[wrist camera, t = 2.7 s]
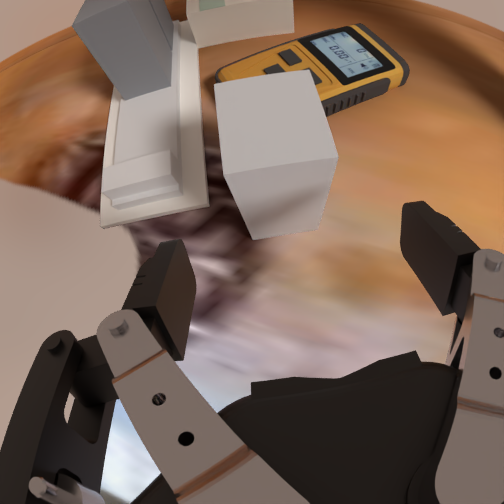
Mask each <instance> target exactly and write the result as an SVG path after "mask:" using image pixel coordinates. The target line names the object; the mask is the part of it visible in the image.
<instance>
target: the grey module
mask: <svg viewBox="0 0 504 504" xmlns="http://www.w3.org/2000/svg"><path fill="white" fill-rule="evenodd" d="M214 91H215V101H216V110H217V120H218V130H219V139H220V148H221V157H222V166H223V175H224V177H225V179H226V182H227V184H228V186H229V188H230V190H231V193H232V195H233V197H234V199H235V202H236V204H237V206H238V208H239V210H240V213H241V215H242V217H243V219H244V221H245V224H246V226H247V228H248V230H249V233H250V235H251V237H252V239H253V240H257V239H263V238H269V237H275V236H282V235H288V234H294V233H300V232H307V231H313V230H318V227H319V224H320V221H321V217H322V214H323V211H324V207H325V204H326V200H327V197H328V193H329V190H330V186H331V183H332V179H333V176H334V172H335V168H336V165H337V161H338V154H337V150H336V147H335V144H334V140H333V137H332V134H331V131H330V128H329V124H328V121H327V118H326V115H325V112H324V109H323V106H322V103H321V101H320V98H319V95H318V92H317V89H316V86H315V84H314V81H313V78H312V76H311V73H310V70H300V71H291V72H283V73H275V74H268V75H261V76H255V77H249V78H243V79H238V80H232V81H227V82H222V83H217V84H214Z"/></svg>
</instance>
